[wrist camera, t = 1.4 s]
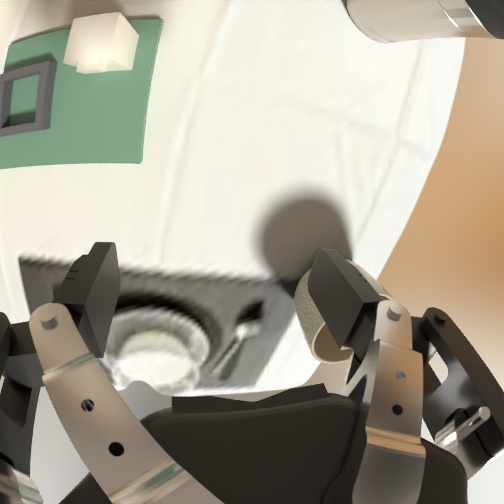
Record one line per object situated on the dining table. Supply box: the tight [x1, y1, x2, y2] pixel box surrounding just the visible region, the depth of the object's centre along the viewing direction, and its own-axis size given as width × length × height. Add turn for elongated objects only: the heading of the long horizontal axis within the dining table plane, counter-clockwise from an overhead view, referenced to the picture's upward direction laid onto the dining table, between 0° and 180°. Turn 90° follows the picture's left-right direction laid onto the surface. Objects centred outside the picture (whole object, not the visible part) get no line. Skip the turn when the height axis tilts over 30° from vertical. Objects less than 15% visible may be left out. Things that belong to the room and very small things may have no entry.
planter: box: [294, 259, 395, 364], centre depth 35 cm, size 12×12×11 cm
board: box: [0, 19, 163, 169], centre depth 19 cm, size 16×20×3 cm
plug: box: [63, 12, 139, 74], centre depth 15 cm, size 5×4×8 cm
